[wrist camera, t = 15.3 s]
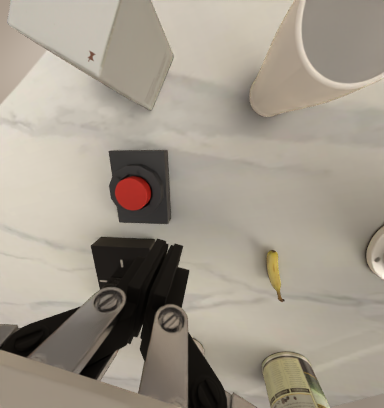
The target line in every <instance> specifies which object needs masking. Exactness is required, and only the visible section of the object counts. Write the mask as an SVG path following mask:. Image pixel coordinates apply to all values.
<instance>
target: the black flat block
mask: <svg viewBox="0 0 384 408" xmlns="http://www.w3.org/2000/svg"><path fill="white" fill-rule="evenodd" d="M154 243H155V239H137V238H112V237H101V238H99V239H98V240H97V241H96V242H95V243H94V244H92V245H91V249H92V254H93V259H94V263H95V268H96V273H97V277H98V282H99V287H100V290H101V289H102V288H103V286H104V285H105V284H106V283H107V281H108V280H109V279H110V277H115V278H122V277H123V276H124V274H125V273H126V272H127V270H128V269H129V267H130V266H131V265H132V263H133V262H134V260H135V259H136V258H137V257H138V256H141V257H144V258H146V256H147V254H148V253H149V251H150V250H151V248H152V247H153V245H154Z"/></svg>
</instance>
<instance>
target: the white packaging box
mask: <svg viewBox="0 0 384 408" xmlns="http://www.w3.org/2000/svg"><path fill="white" fill-rule="evenodd" d="M7 23H8V24H9V26H10V27H12V28H13V29H15V30H17V31H18V32H19V33H21V34H23V35H24V36H26V37H27V38H29V39H31V40H32V41H34V42H35V43H37V44H39V45H40V46H42V47H44V48H45V49H47V50H48V51H50V52H52V53H53V54H55V55H56V56H58V57H60V58H61V59H63V60H65V61H66V62H68V63H70V64H71V65H73V66H74V67H76V68H78V69H79V70H81V71H83V72H84V73H86V74H88V75H89V76H91V77H93V78H94V79H96V80H98V81H99V82H101V83H103V84H104V85H106V86H108V87H109V88H111V89H113V90H114V91H116V92H118V93H119V94H121V95H123V96H124V97H126V98H128V99H130V100H132V101H133V102H135V103H137V104H139V105H141V106H143V107H145V108H146V109H148V110H150V111H151V110H152V108H153V106H154V103H155V101H156V99H157V96H158V94H159V92H160V89H161V86H162V84H163V82H164V79H165V77H166V74H167V72H168V69H169V67H170V65H171V62H172V60H173V53H172V51H171V48H170V46H169V43H168V41H167V38H166V36H165V33H164V31H163V29H162V26H161V24H160V21H159V19H158V17H157V14H156V12H155V9H154V7H153V4H152V2H151V0H10V7H9V14H8V20H7Z"/></svg>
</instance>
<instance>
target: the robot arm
mask: <svg viewBox="0 0 384 408" xmlns="http://www.w3.org/2000/svg"><path fill="white" fill-rule="evenodd" d="M182 249H183V246H182V245H178V244H174V246H173V245H171V246H170V248H169V250H168V244H166V241H164V240H160V239H157V240H156V242H155V243H154V245H153V247H152V248H151V250H150V251H149V253H148V254H147V256H146V258H144V257H141V256H138V257H137V258H136V259H135V260H134V262H133V263H132V265H131V266H130V267H129V269H128V270H127V272H126V273H125V274H124V276H123V277H122V279H121V280H120V281H119V283H118V284H117V286H116V287H107V288H103V289H101V290H99V291H98V292H96V293H95V294H94V295H93V296H92V297H91V298H90V299H88V300H87V301H86V302H85V303H84V304H83V305H82V306H81V307H78V308H75V309H72V310H69V311H66V312H63V313H60V314H57V315H54V316H52V317H49V318H46V319H43V320H40V321H37V322H34V323H31V324H29V325H27V326H24V327H22V328H18V325H10V324H0V408H257V407H256V406H254V405H253V404H251V403H249V402H248V401H246V400H245V399H243V398H242V397H240V396H238V395H237V394H235V393H234V392H233V394H232V395H231V394H230V393H228V392H227V391H225V390H224V388H223V386H222V384H221V382H220V381H219V379H218V378H217V376H216V374H215V373H214V371H213V370H212V368H211V367H210V365H209V364H208V362H207V360H206V359H205V357H204V356H203V354H202V353H201V351H200V350H199V348H198V346H197V345H196V343H195V342H194V340H193V339H192V337H191V335H190V334H189V332H188V318H187V315H186V313H185V311H184V310H183V309H182V304H183V299H184V294H185V289H186V284H187V280H188V275H189V270H186V269H183V268H179V267H178V265H179V261H180V257H181V253H182ZM167 250H168V253H167ZM166 254H167V255H166ZM366 257H367V263H368V265H369V268H370V269H371V270H372V271H373V272H374V273H375V274H376V275H377V276H379V277H380V278H381V279H383V280H384V226H383V227H382V228H381V229H379V230H378V232H377V233H376V234H375V235H374V236H373V238H372V240H371V241H370V243H369V246H368V248H367V254H366ZM142 325H143V327H142ZM141 327H142V332H141V337H140V338H141V339H142V341H141V346H140V351H141V354H142V356H143V359H144V361H145V362H144V366H143V371H142V376H141V381H140V386H139V391H138V393H135V392H132V391H129V390H126V389H123V388H119V387H116V386H113V385H110V384H107V383H104V382H101V381H100V380H101V379H102V377H103V376H104V374H105V372H106V371H107V369H108V368H109V366H110V365H111V363H112V361H113V360H114V358H115V357H116V355H117V353H118V350H119V349H120V348H122V347H124V346H126V345H127V343H129V344H131V341H132V339H133V337H138V335H139V332H140V330H141Z"/></svg>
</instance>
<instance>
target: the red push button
mask: <svg viewBox="0 0 384 408" xmlns="http://www.w3.org/2000/svg"><path fill="white" fill-rule="evenodd" d="M115 196H116V199H117V201H118V203H119V204H120V205H121V206H122V207H124V208H126V209H128V210H139V209H141V208H142V207H143V206H144V205H146V204H147V203H148V202H149V200H150V198H151V189H150V186H149V184H148V183H147V182H146V181H145V180H144V179H142V178H140V177H137V176H131V177H128V178H126V179H123V180H121V181H120V182H119V183H118V184H117V186H116V189H115Z"/></svg>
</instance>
